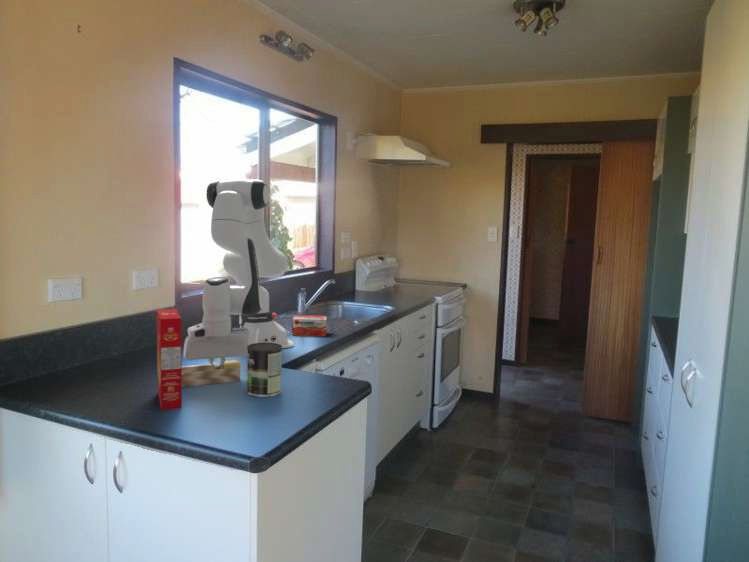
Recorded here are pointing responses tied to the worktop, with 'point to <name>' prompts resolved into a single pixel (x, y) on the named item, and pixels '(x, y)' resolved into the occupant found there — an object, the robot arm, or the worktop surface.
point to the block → (231, 364)
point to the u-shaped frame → (208, 375)
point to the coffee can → (264, 369)
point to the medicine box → (309, 325)
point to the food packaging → (169, 359)
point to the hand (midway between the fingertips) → (216, 371)
